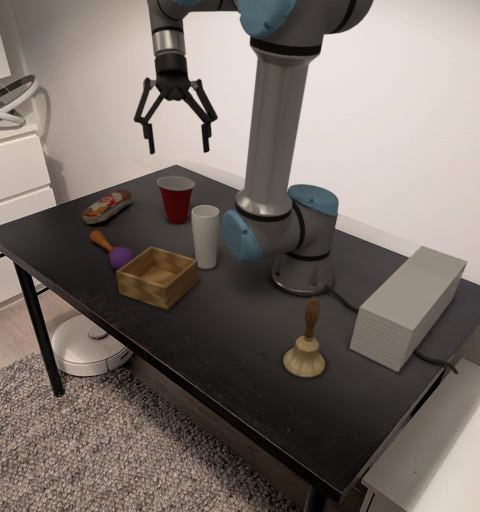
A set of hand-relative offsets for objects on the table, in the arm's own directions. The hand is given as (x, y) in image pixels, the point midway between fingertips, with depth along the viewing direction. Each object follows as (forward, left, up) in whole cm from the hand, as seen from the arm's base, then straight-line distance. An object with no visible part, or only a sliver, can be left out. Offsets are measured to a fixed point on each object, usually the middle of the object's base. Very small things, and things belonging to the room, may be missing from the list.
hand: (180, 152), depth 111 cm
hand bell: (-46, +30, -25) cm, 60 cm away
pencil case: (+29, -3, -25) cm, 38 cm away
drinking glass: (-11, +8, -25) cm, 28 cm away
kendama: (+12, +17, -25) cm, 32 cm away
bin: (-7, +22, -24) cm, 34 cm away
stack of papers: (-62, +7, -25) cm, 67 cm away
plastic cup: (+9, -10, -25) cm, 28 cm away
